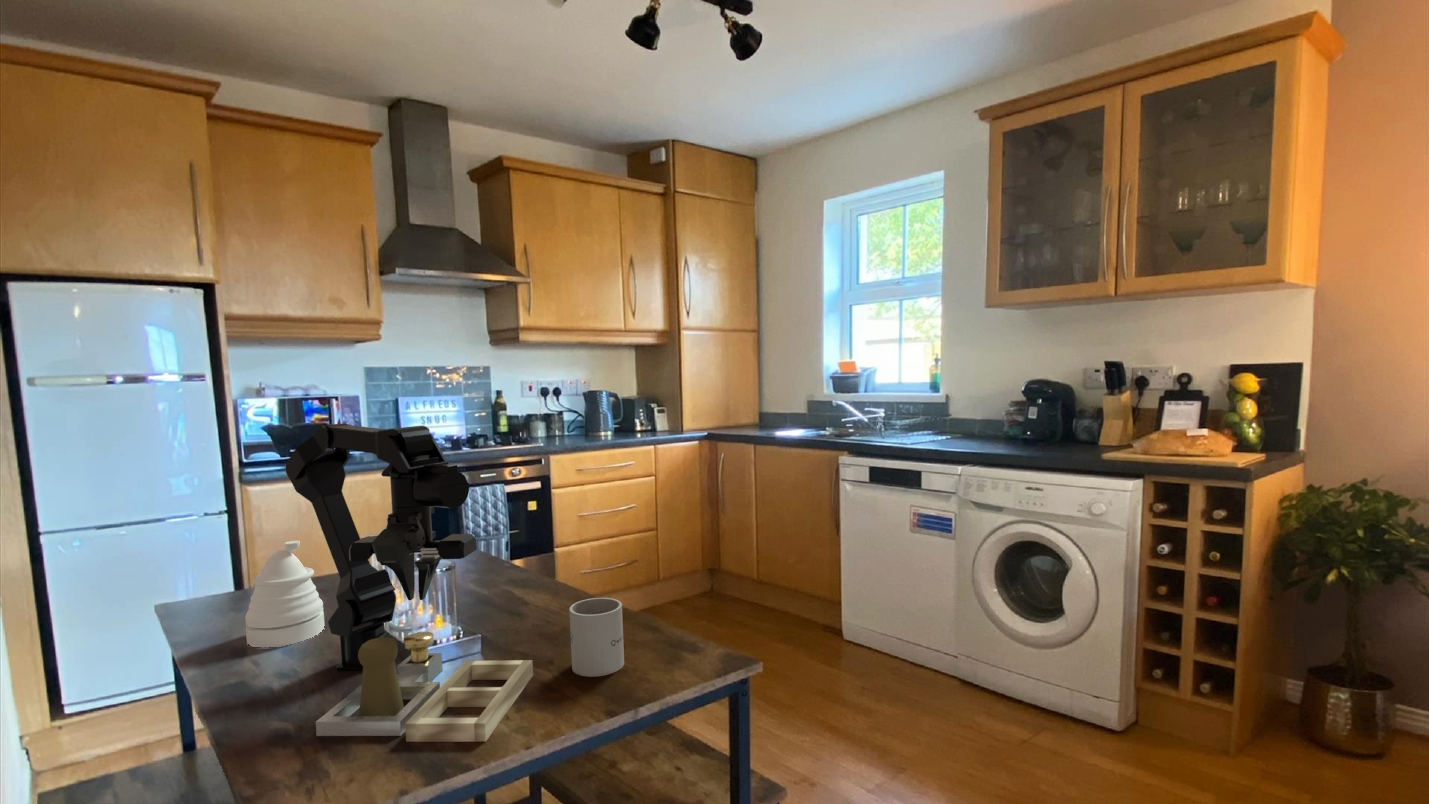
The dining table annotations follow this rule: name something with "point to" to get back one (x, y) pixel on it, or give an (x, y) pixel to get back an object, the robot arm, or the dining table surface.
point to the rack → (470, 702)
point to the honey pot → (284, 602)
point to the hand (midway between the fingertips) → (416, 599)
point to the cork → (379, 678)
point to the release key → (419, 646)
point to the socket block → (412, 686)
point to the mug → (596, 636)
